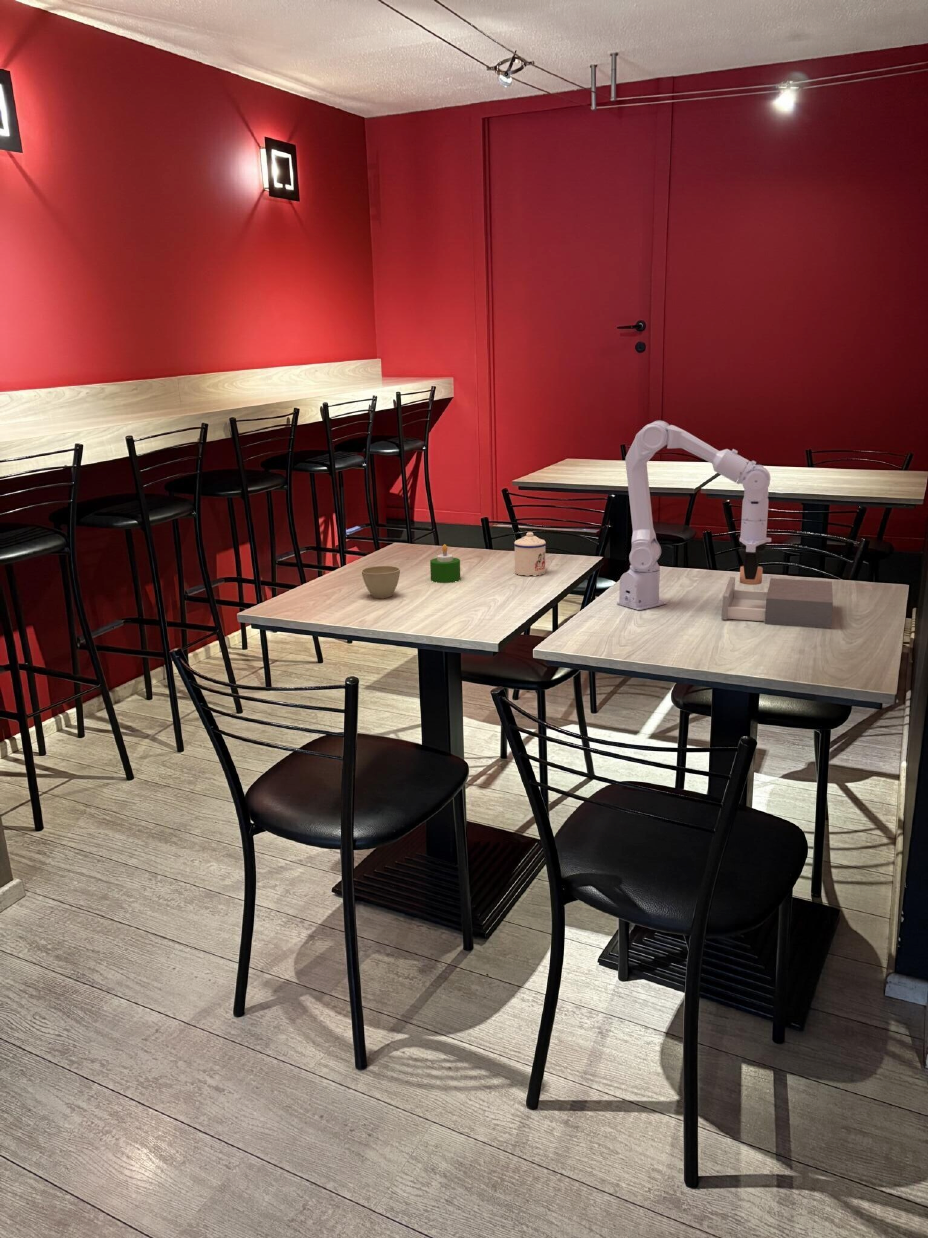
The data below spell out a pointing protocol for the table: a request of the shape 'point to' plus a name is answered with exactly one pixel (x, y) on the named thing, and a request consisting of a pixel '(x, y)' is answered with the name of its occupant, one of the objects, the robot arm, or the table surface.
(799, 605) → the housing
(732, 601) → the tray
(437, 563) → the candle
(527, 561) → the teacup with lid
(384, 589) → the bowl
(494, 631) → the table surface
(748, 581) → the orange rounded part
